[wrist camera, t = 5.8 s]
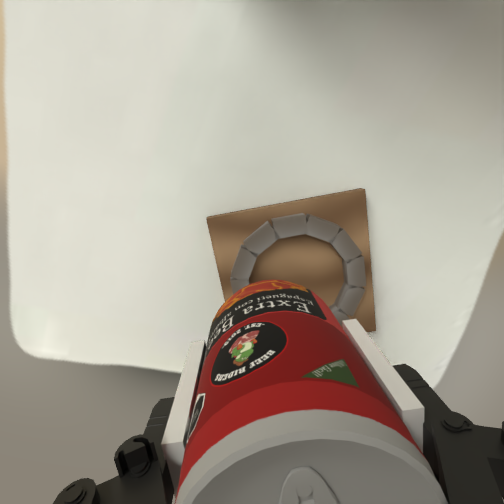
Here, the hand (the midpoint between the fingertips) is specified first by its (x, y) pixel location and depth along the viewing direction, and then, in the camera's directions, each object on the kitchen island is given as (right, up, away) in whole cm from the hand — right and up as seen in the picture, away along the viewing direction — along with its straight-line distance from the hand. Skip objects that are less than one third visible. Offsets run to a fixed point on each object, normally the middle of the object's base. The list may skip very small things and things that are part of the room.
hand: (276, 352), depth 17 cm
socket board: (+3, +3, +17) cm, 17 cm away
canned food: (0, 0, +2) cm, 2 cm away
